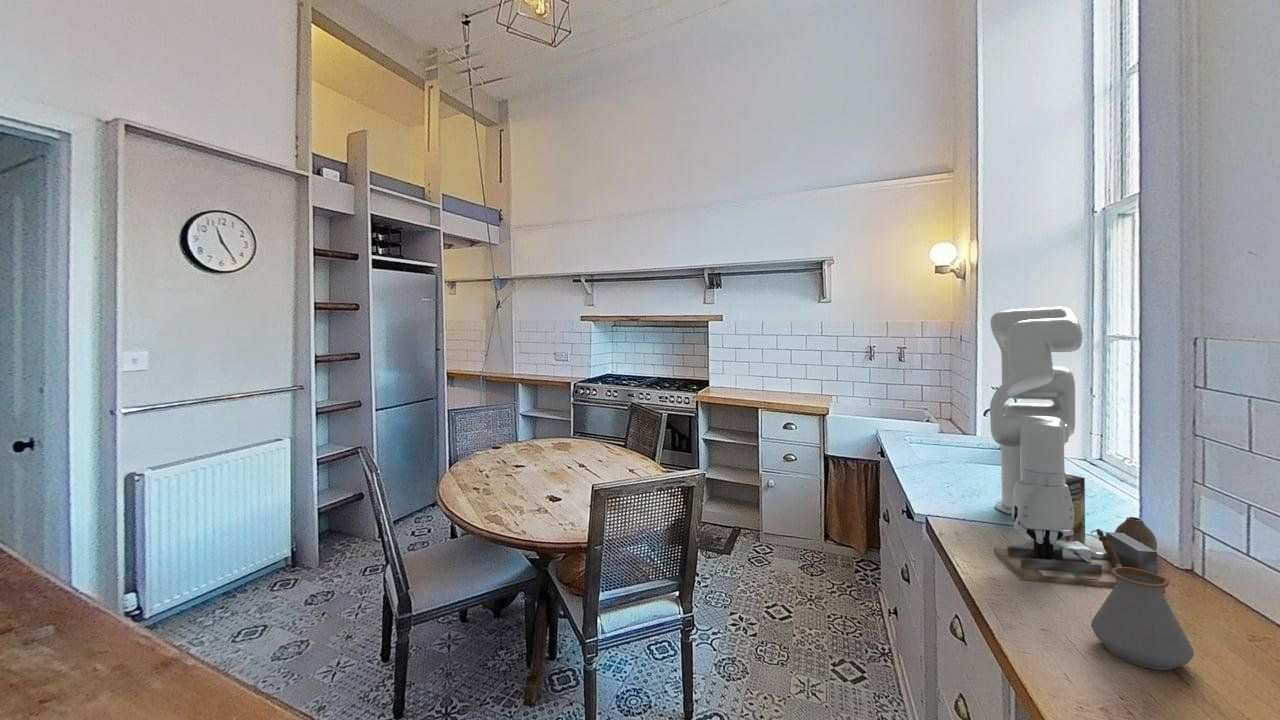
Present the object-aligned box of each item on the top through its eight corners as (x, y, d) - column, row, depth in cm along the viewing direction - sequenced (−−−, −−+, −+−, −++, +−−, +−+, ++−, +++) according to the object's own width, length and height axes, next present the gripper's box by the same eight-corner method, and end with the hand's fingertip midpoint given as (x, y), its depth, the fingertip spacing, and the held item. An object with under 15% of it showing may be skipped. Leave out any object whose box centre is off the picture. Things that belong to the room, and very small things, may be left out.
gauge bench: (1022, 579, 102) (1021, 547, 102) (993, 551, 116) (993, 523, 115) (1165, 591, 95) (1164, 556, 95) (1117, 560, 109) (1116, 529, 109)
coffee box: (1065, 549, 115) (1064, 483, 115) (1034, 539, 121) (1033, 476, 121) (1086, 541, 119) (1085, 477, 119) (1055, 532, 125) (1054, 471, 124)
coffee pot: (1213, 687, 70) (1212, 585, 69) (1108, 667, 75) (1107, 572, 74) (1139, 611, 89) (1138, 531, 89) (1060, 599, 94) (1058, 524, 94)
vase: (1166, 563, 106) (1165, 524, 106) (1129, 562, 108) (1128, 523, 107) (1140, 550, 113) (1140, 513, 113) (1106, 549, 114) (1105, 512, 114)
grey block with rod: (1074, 577, 100) (1074, 556, 100) (1051, 559, 108) (1051, 539, 108) (1139, 582, 97) (1139, 560, 97) (1110, 563, 105) (1110, 543, 105)
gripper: (1073, 474, 108) (1074, 554, 108) (995, 472, 112) (997, 549, 113) (1094, 483, 101) (1095, 570, 101) (1010, 481, 105) (1012, 564, 105)
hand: (1043, 559), depth 107 cm, fingers closed
